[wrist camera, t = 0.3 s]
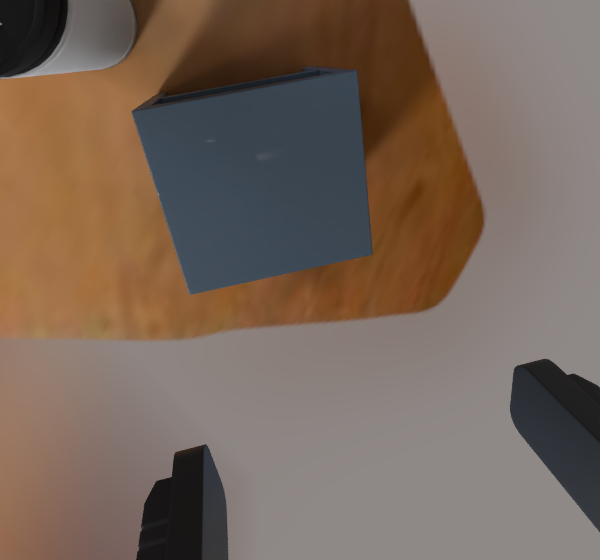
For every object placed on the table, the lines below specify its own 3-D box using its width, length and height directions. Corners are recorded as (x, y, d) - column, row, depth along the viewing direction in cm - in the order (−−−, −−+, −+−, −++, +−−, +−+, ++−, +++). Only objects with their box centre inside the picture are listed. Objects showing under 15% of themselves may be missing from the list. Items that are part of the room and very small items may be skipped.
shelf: (156, 93, 33) (131, 111, 22) (312, 65, 34) (357, 69, 23) (195, 229, 38) (189, 295, 27) (329, 201, 39) (373, 254, 29)
